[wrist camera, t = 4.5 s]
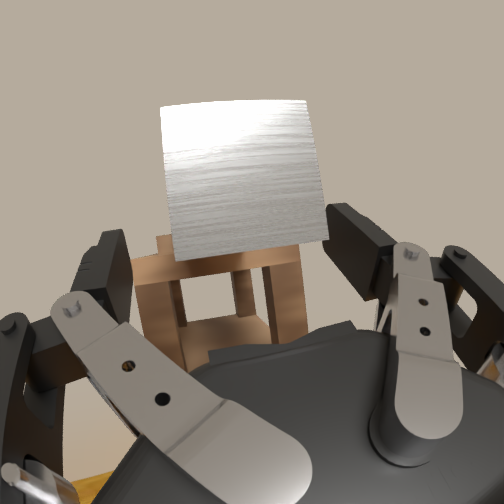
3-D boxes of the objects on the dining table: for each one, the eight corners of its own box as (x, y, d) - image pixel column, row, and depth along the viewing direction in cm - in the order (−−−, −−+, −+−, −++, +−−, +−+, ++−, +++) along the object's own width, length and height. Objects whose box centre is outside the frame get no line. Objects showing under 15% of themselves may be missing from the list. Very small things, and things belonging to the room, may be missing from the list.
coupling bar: (175, 262, 6) (160, 107, 6) (186, 249, 32) (182, 216, 32) (329, 239, 7) (306, 100, 7) (219, 244, 32) (215, 212, 32)
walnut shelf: (229, 566, 18) (127, 238, 16) (209, 475, 35) (157, 242, 34) (317, 544, 20) (294, 216, 18) (274, 462, 38) (241, 231, 36)
